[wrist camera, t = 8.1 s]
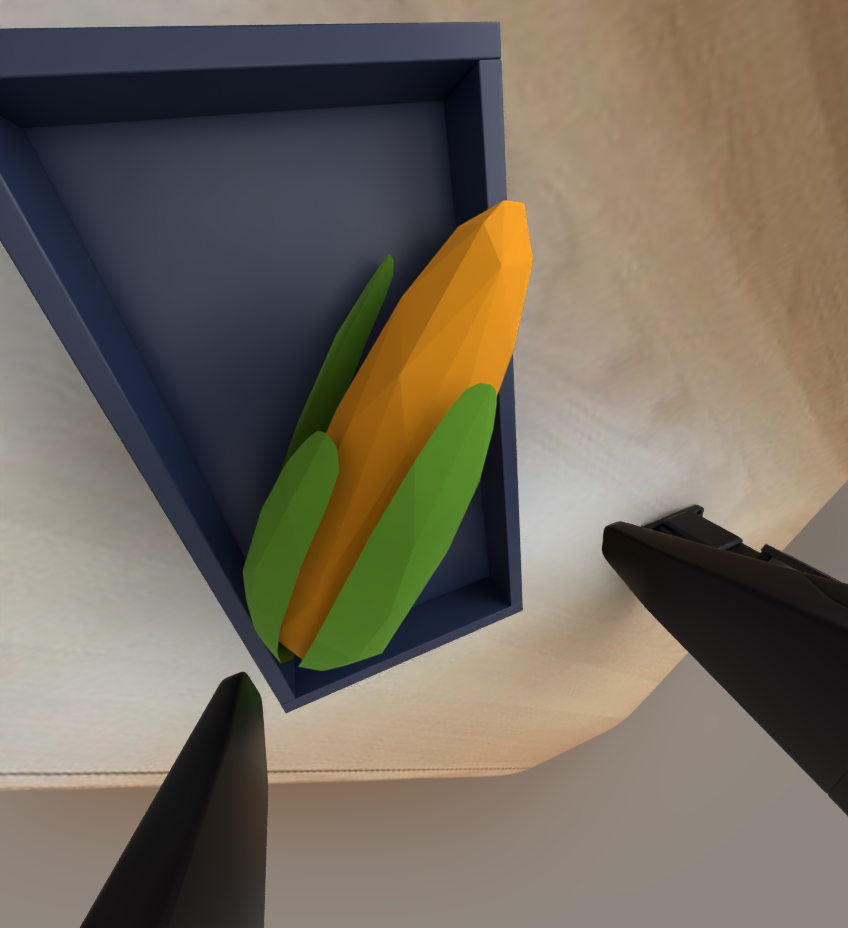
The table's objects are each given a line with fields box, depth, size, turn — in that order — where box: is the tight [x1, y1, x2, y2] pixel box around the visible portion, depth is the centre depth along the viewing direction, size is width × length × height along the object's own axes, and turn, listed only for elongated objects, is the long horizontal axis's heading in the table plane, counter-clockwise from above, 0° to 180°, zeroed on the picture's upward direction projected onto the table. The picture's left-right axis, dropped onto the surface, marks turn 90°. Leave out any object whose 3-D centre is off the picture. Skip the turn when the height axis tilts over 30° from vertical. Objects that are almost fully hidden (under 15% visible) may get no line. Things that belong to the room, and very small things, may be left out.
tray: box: [0, 22, 523, 713], centre depth 17 cm, size 26×15×3 cm, turn 9°
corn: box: [243, 200, 533, 671], centre depth 14 cm, size 7×8×20 cm
